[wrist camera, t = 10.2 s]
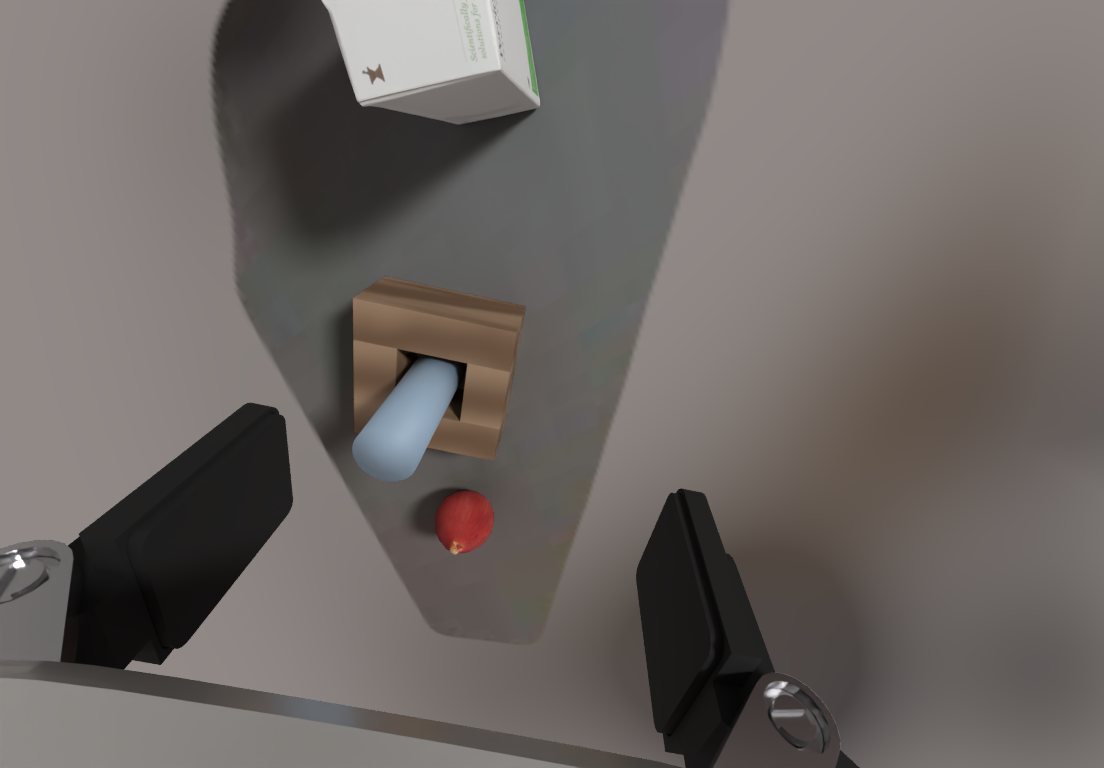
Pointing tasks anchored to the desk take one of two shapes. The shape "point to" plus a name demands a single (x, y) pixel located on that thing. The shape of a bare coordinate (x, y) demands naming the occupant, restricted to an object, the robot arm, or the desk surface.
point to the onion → (464, 521)
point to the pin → (408, 419)
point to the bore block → (441, 331)
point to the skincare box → (438, 56)
